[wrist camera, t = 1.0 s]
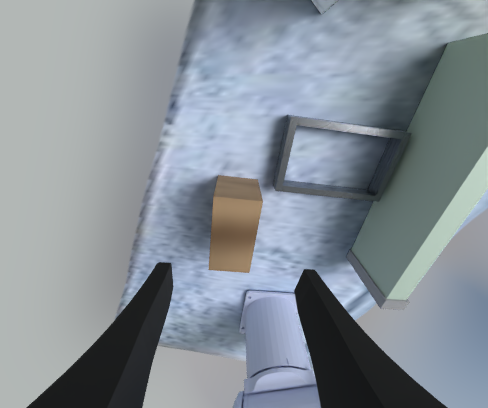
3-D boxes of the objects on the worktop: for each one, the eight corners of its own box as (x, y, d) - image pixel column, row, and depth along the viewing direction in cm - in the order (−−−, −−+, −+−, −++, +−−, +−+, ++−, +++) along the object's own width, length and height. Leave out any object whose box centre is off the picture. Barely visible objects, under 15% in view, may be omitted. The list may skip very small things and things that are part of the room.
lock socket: (370, 195, 22) (378, 201, 21) (272, 184, 22) (275, 190, 20) (400, 130, 19) (411, 133, 18) (287, 114, 18) (291, 116, 17)
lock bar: (247, 241, 25) (249, 272, 21) (213, 238, 25) (208, 269, 20) (257, 179, 21) (262, 201, 17) (218, 174, 21) (213, 196, 17)
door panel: (363, 258, 27) (403, 310, 20) (346, 256, 26) (380, 308, 20) (473, 47, 16) (622, 18, 10) (445, 42, 16) (579, 9, 10)
